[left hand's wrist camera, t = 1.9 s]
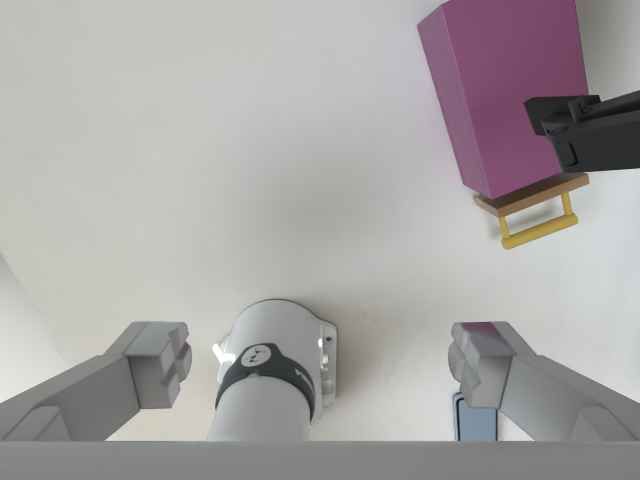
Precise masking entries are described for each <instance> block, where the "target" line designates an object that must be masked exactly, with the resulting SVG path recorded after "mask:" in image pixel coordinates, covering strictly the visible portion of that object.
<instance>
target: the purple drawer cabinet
mask: <svg viewBox="0 0 640 480" xmlns="http://www.w3.org/2000/svg"><path fill="white" fill-rule="evenodd" d="M417 27H418V31H419V34H420V37H421V41H422V44H423V48H424V51H425V55H426V58H427V61H428V65H429V68H430V72H431V75H432V78H433V82H434V85H435V89H436V92H437V95H438V99H439V102H440V106H441V109H442V112H443V116H444V119H445V123H446V126H447V129H448V133H449V136H450V140H451V143H452V147H453V150H454V153H455V157H456V160H457V164H458V167H459V170H460V174H461V177H462V181H463V184H464V185H466V186H468V187H470V188H471V189H473V190H475V191H477V192H479V193H481V194H483V195H485V196H486V197H489V198H491V199H495V198H497V197H500V196H502V195H505V194H507V193H510V192H512V191H515V190H517V189H520V188H522V187H525V186H527V185H530V184H532V183H535V182H537V181H540V180H542V179H545V178H547V177H550V176H552V175H555V174H557V173H560V172H562V170H561V167H560V165H559V162H558V159H557V157H556V154H555V151H554V149H553V146H552V143H551V141H549V140H548V139H547V137H546V136H539V135H535V132H534V130H533V127H532V124H531V122H530V119H529V117H528V114H527V112H526V109H525V106H524V104H523V103H524V102H526V101H527V100H529V99H531V98H532V97H552V96H580V95H583V94H584V95H589V94H588V88H587V81H586V74H585V67H584V61H583V54H582V47H581V40H580V34H579V27H578V20H577V14H576V7H575V0H450V1H448V2H446V3H444V4H442V5H440V6H439V7H438V8H437V9H435V10H434V11H433V12H432V13H431V14H430V15H428V16H427V17H426V18H425V19H424V20H422V21H421V22H420V23H419V24H418V25H417Z"/></svg>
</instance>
